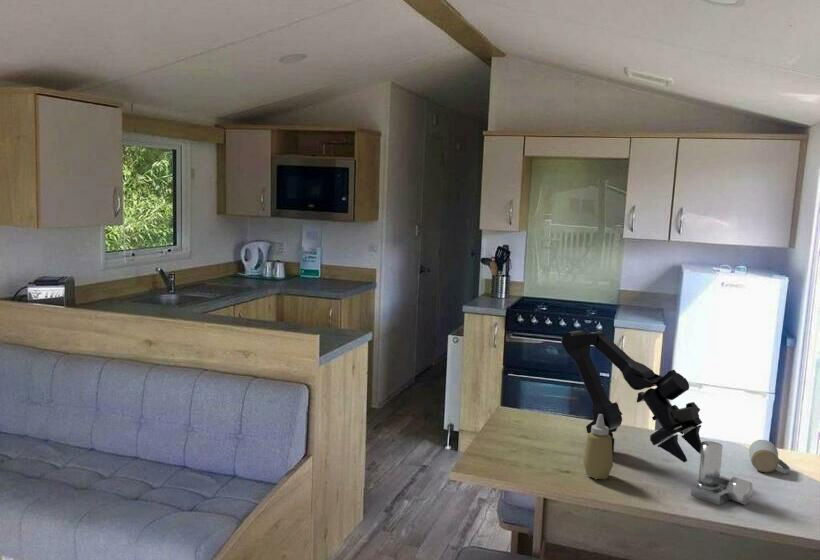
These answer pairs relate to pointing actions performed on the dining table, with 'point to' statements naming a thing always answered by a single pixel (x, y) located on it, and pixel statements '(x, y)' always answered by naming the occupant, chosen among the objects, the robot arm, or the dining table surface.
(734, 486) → the duct saddle
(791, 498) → the dining table surface
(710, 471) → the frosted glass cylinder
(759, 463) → the ceramic mug
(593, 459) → the squeeze bottle
